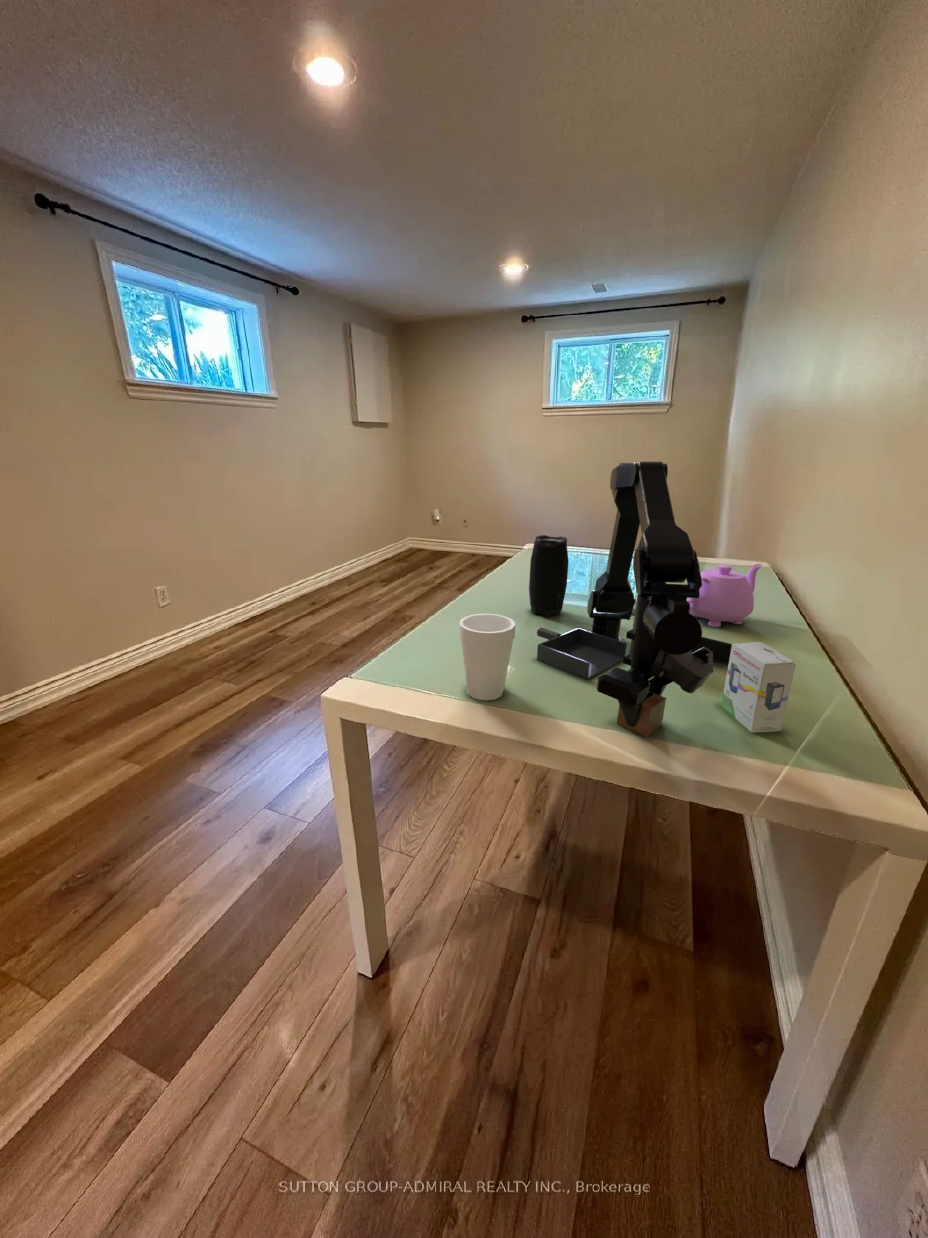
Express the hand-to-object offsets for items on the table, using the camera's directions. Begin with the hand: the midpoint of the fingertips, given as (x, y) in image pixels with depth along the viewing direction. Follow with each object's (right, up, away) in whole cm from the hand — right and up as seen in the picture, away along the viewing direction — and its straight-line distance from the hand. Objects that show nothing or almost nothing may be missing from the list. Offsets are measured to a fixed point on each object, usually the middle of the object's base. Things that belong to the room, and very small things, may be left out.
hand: (639, 719), depth 77 cm
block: (0, -1, 0) cm, 1 cm away
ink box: (+18, -1, +3) cm, 19 cm away
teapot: (+37, +16, +47) cm, 62 cm away
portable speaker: (-6, +17, +50) cm, 54 cm away
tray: (-5, +8, +25) cm, 27 cm away
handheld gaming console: (+23, +8, +26) cm, 35 cm away
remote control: (+19, +17, +52) cm, 58 cm away
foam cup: (-24, +3, +10) cm, 26 cm away
